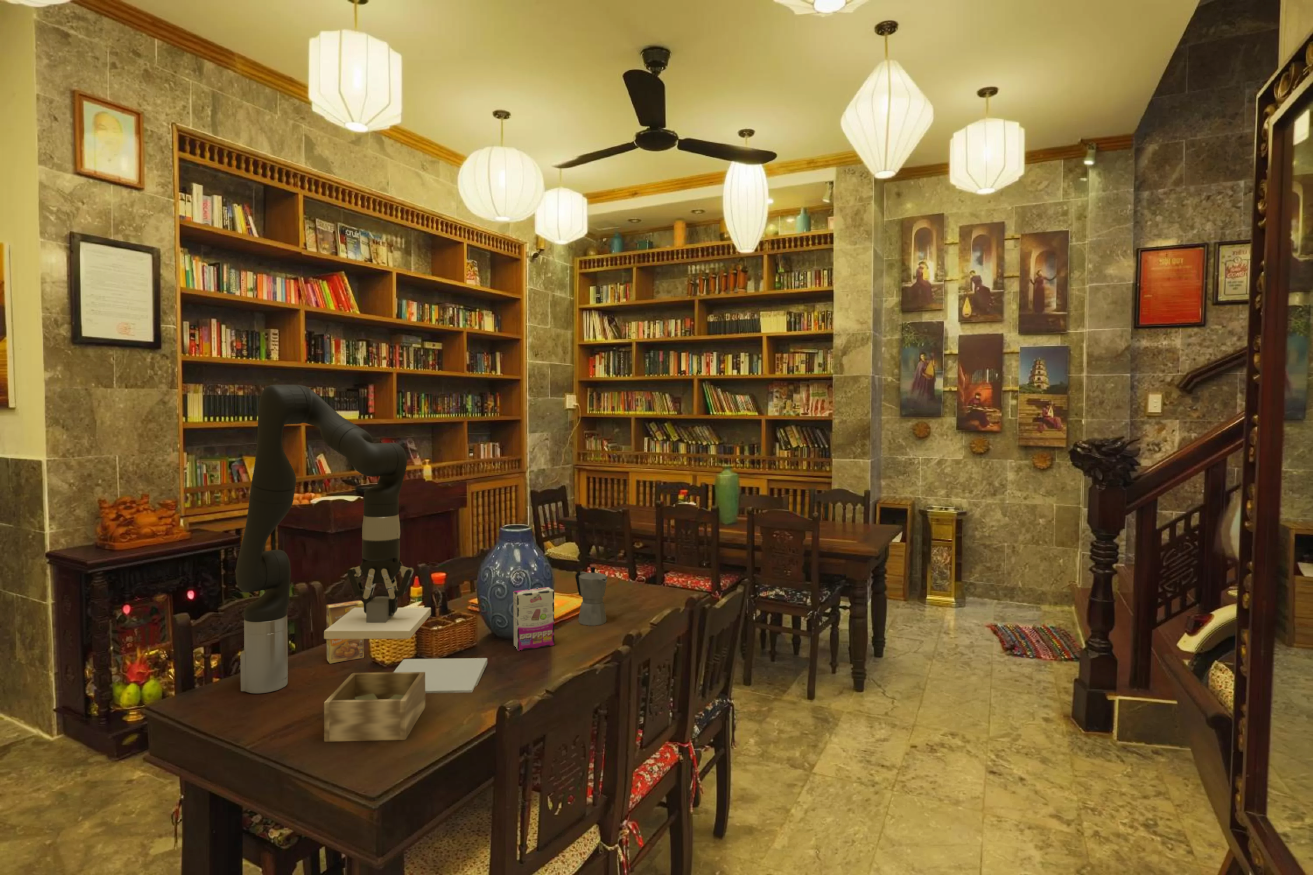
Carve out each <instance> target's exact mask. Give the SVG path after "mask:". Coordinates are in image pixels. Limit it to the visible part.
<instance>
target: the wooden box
mask: <svg viewBox="0 0 1313 875" xmlns="http://www.w3.org/2000/svg"><path fill="white" fill-rule="evenodd" d="M373 693H374V694H375V696H376V697H377V699H374V700H355V697H358V696H363V695H368V694H373ZM395 694H396V695H404V697H403V698H402V699H389V698H391V697H392V696H394V695H395ZM323 703H324V704H323V720H324V721H323V725H324V726H323V728H324V730H323V732H324V733H323V737H324V738H323V741H324V743H325V742H329V743H330V742H361V741H362V742H364V741H365V742H367V741H370V742H372V741H376V742H377V741H406V740H407V738H408V737H409V735H410V733H411V731H412V730H413V728H414V727H415V725H416V723H417V722H418V720H419V718H420V716H421V715H422V714H423V711H424V710H425V709H426V693H425V672H394V671H392V672H352V673H351V674H350V675H349V676H348V677H347V678H346V679H345V680H344V681H343V682H342V683H341V684H340V685H339V686H338V687H337V688H336V689H335V691H334V692H332V693H331V694H330V696H329V697H328V698H327V699H326V700H325V701H324V702H323Z"/></svg>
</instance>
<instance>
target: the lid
mask: <svg viewBox="0 0 1313 875" xmlns="http://www.w3.org/2000/svg"><path fill="white" fill-rule="evenodd" d="M388 599H390V597H389V596H375V597H373V599H372V600H371V601H370V602H368V603H367V604H366V613H365V612H364V608H353V609H352V610H351V611H349V612H348V613H347V614H345V615H344V616H343V617H342V618H340V619H339V620H338V621H336V622H335V623H334V624H333V625H331V626H330V627H329V628H327V627H326V629H325V630H324V632H323V639H324V640H327V639H364V640H374V639H377V640H378V639H380V640H382V639H383V640H384V639H385V640H386V639H388V640H389V639H391V640H393V639H394V640H395V639H397V640H399V639H404V640H405V639H407V640H409V639H411V638H412V636H414V634H415V633H416V632H417V631H418V630H419V629H420V627H421V626H422V625H423V624H424V623H425V622H426V621H427V620H428V618H430V616H431V615H432V608H431V607H397V611H396V612H395V613H394V615H393V616H389V602H388Z"/></svg>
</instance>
